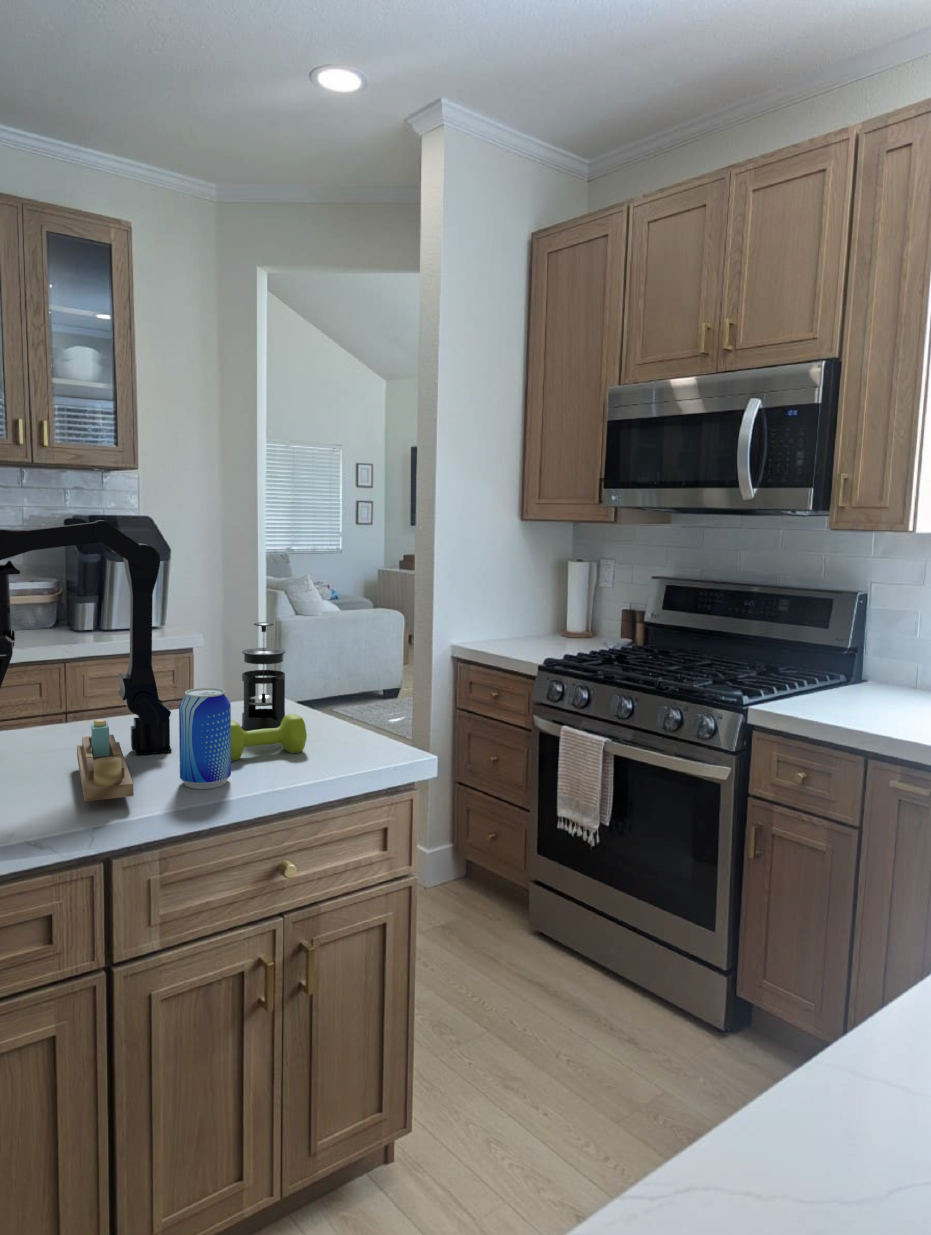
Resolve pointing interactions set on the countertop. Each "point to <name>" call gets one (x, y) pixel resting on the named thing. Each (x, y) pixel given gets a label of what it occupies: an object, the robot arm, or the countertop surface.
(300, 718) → the dumbbell
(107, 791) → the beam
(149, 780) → the countertop surface
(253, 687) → the french press
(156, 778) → the countertop surface
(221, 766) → the beer can
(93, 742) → the block
